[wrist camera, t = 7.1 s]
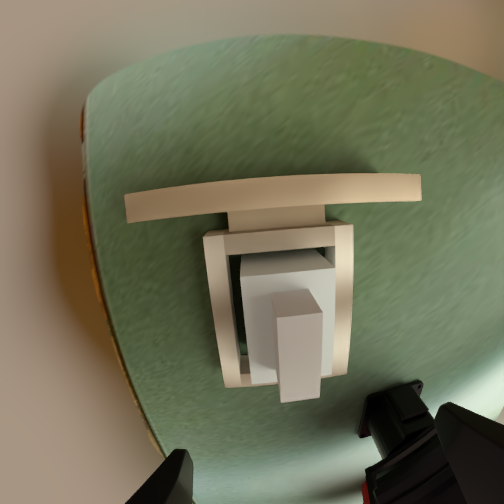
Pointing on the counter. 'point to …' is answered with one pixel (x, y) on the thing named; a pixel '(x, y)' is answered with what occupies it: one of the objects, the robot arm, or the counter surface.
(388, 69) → the counter surface
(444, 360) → the counter surface
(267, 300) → the grey stepped block
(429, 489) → the robot arm
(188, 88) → the counter surface
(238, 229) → the stand
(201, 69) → the counter surface
